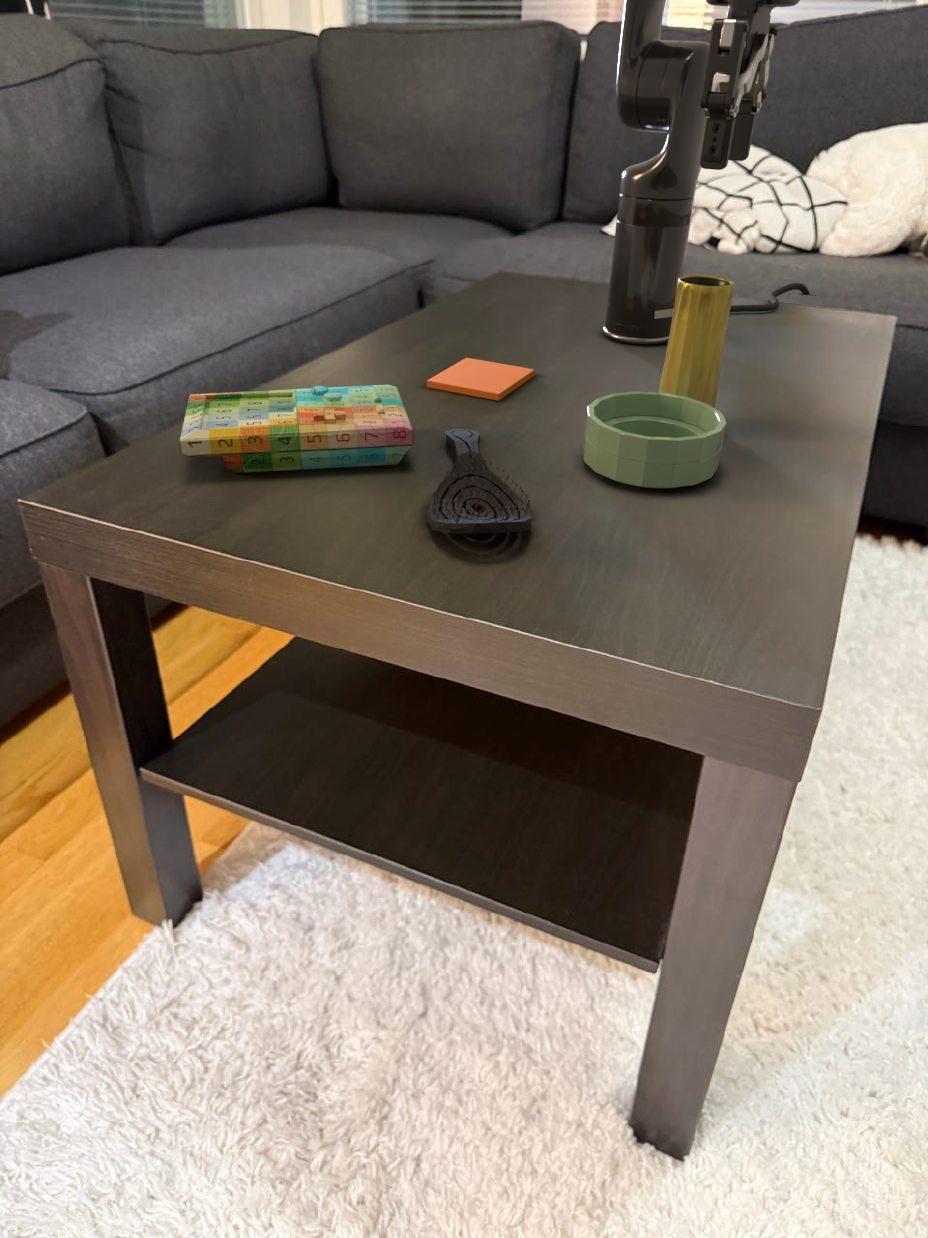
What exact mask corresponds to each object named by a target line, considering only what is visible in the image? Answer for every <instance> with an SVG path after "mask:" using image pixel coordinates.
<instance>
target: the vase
mask: <svg viewBox="0 0 928 1238" xmlns="http://www.w3.org/2000/svg"><path fill="white" fill-rule="evenodd" d="M734 291H735V282H734V281H733V280H731V279H730V278H727V277H723V276H719V275H711V274H686V275H683V276H682V277H680V278H678V283H677V291H676V298H675V305H674V311H673V317H672V323H671V329H670V335H669V340H668V342H667V345H666V346H667V347H666V353H665V357H664V365H663V368H662V373H661V378H660V382H659V387H658V392H661V393H667V394H673V395H679V396H684V397H688V398H691V399H694V400H697V401H700V402H703V403H706V404H709V405H710V406H712V407H713V408H715V409H716V403H717V397H718V390H719V384H720V383H719V382H720V376H721V368H722V361H723V354H724V347H725V342H726V336H727V329H728V326H729V319H730V314H731V312H730V308H731V306H732V301H733V295H734V293H735V292H734Z"/></svg>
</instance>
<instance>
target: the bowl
mask: <svg viewBox="0 0 928 1238" xmlns="http://www.w3.org/2000/svg"><path fill="white" fill-rule="evenodd" d="M584 425H585V426H584V436H583V445H582V456H583V457H582V458H583V462H584V463H585V464H586V465H587V466H588V467H589V468H590V469H592V471H594V472H595V473H597V474H599V475H602V476H603V477H605V478H608V479H610V480H613V481H615V482H618V483H622V484H624V485H629V486H634V487H637V488H638V487H639V488H646V489H675V488H681V487H682V488H683V487H689V486H696V485H698V484H700V483H702V482H705V481H707V480H709V479H712V477H713V476H714V475H715V472H717V470H718V468H719V464H720V460H721V454H722V449H723V444H724V439H725V433H726V429H727V420H726V418H725V416H724V414H723V412H721V411H720V410H718V409H717V408H716V407H715V408H713V407H712V406H710V405H709V404H706V403H703V402H700V401H697V400H694V399H691V398H688V397H684V396H679V395H673V394H667V393H661V392H659V391H658V392H657V391H637V390H636V391H627V392H626V391H625V392H614V393H611V394H608V395H605V396H600V397H598V398H595V399H594V400H593V401H592V402H591V403H590V404H588V405H587V407H586V416H585V424H584Z"/></svg>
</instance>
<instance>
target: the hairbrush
mask: <svg viewBox="0 0 928 1238" xmlns="http://www.w3.org/2000/svg"><path fill="white" fill-rule="evenodd" d="M444 441H445V443H446V444H447V445H448V446H449V447H451V448H452V449H454V452H455V456H456V457H457V458H456V460H455V462H454V464H453V466H452V467H451V470H447V471H446V475H444V476H443V480H441V481H440V483H439V485H438V487H437V488H436V490H435V491H434V492H433V493H432V495H430V500H429V503H428V507H427V511H426V522H427V523H428V525H429V527H430V529H431V530H432V531H435V532H438V533H439V532H440V533H445V534H505V533H506V534H507V533H520V532H521V533H522V532H526V531H527V530H529V529H531V528H532V527H533V525H532V521H533V517H532V515H531V512H530V511H529V509H530V507H531V500H530V498H529V496H528V494H527V493H525V490H523V489H522V487H521V486H520V487H519V491H520V492H521V495H520V496H519V495H518V494H517V493H515V490H516V489H517V488H518V484H517V482H515V481H514V479H512V480H511V484H510V486H509V485H508V484H507V480H508V479H509V478H510V474H507V476H506V478H505V480H504V481H503V480H502V479H501V478H502V477H499V476H497V475H496V474H495V473H493V472H492V471H491V470H490V468H491V467H488V465H487V464H486V461H487V460H486V459H483V458H482V456H481V454H480V451H479V450H480V449H479V446H480V444H481V432H479V431H477V430H475V429H474V430H473V429H468V428H453V429H448V430H445V435H444ZM492 465H493V462H490V466H492ZM499 468H500V467H499V466H497V467H496V469H497V470H498V469H499ZM502 473H505V470H504V469H503V470H502ZM514 482H515V483H514ZM513 483H514V486H515V487H513V488H511V486H512V484H513ZM524 493H525V494H524ZM523 494H524V495H523ZM523 496H524V499H521V498H522V497H523ZM527 500H528V501H527ZM526 503H527V504H526Z"/></svg>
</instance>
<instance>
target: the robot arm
mask: <svg viewBox="0 0 928 1238" xmlns="http://www.w3.org/2000/svg"><path fill="white" fill-rule="evenodd" d="M705 1H706V3H707V4H708V5H710V6H717V7H728V10H727V12H726V17H725V18H714V20H713V23H712V25H711V31H710V32H711V35H710V40H709V42H707V41H701V40H700V41H699V40H673V39H672V40H670V39H666V40H665V39H662V25H663V18H664V17H663V16H664V12H665V7H666V2H667V0H624V2H623V5H624V6H623V11H622V22H621V30H620V40H619V50H618V59H617V61H618V62H617V69H616V83H615V97H616V110H617V114H618V119H619V121H620V123H621V124H622V125H623V127H624V128H626V129H628V130H631V131H639V132H652V133H665V134H667V135H666V140H665V144H664V145H663V148H662V150H661V151H660V152H658V154H656V155H655V156H653V157H652V158H650V159H648V160H645V161H641V162H639V163H635V164H632V165H630V166H627V167H626V168H625V169H624V170H622V173H621V177H620V183H619V184H620V185H619V195H618V202H617V204H618V205H617V213H616V221H615V222H616V223H615V231H614V241H613V251H612V257H611V258H612V259H611V269H610V276H609V279H610V280H609V284H608V285H609V287H608V296H607V304H606V310H605V311H606V313H605V322H604V325H603V335H604V336H606V337H607V338H608V339H611V340H614V341H617V342H622V343H627V344H633V345H634V344H635V345H658V344H664V343H668V340H669V335H670V329H671V323H672V317H673V311H674V305H675V298H676V291H677V283H678V278H680V277H682V276H684V269H685V262H686V255H687V249H688V243H689V235H690V230H691V222H692V215H693V208H694V204H695V203H694V202H695V196H696V190H697V184H698V180H699V177H700V173H701V170H702V169H704V170H713V171H721V170H723V169H724V170H725V168H727V167H728V164H729V161H735V162H743V161H746V160H747V159H748V158H749V155H750V151H751V146H752V140H753V134H754V129H755V124H756V118H757V114H758V113H759V112H760V110H761V108H762V105H764V104H765V102H766V100H767V98H768V87H769V81H770V76H771V70H772V64H773V58H774V52H775V47H776V41H777V37H778V35H779V25H778V23H771V17H772V16H771V13H772V11H773V10H774V9H775V8H789V7H795V6H796V5H797V4H799V3H800V1H801V0H705ZM758 72H759V73H758ZM794 290H798V291H800V293H802V295H805V296H807V295H810V290H809V288H808V287H807V286H806V285H805V284H804V283H802V282H792V283H788V284H786V285H783V286H780V287H779V288H776V289H775V290H773V291H771V292H770V293H769V294H768V296H767V299H768V301H769V303H765V304H733V305H732V304H731V308H730V313H741V312H742V313H750V312H751V313H754V312H755V313H756V312H757V313H759V312H761V313H762V312H771V311H774V310H776V309H778V307H780V300H779V299H778V298H777V297H779V296H781V295H783V294H785V293H788V292H789V291H790V292H791V291H794Z"/></svg>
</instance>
